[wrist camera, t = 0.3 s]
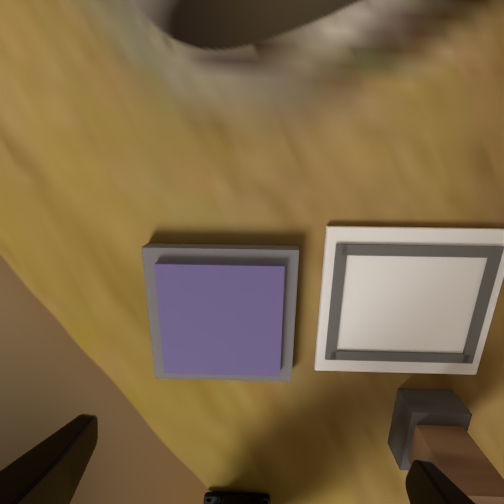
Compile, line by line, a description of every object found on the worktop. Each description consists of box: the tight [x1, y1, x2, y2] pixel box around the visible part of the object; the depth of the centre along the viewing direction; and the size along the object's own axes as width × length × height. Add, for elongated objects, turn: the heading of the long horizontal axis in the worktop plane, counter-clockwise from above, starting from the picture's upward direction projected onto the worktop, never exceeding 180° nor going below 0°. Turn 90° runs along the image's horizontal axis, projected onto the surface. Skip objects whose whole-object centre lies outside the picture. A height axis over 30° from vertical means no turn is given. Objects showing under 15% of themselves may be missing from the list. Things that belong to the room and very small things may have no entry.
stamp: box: [388, 389, 504, 504], centre depth 22 cm, size 6×4×8 cm
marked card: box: [314, 226, 504, 375], centre depth 22 cm, size 12×13×1 cm
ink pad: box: [142, 243, 299, 382], centre depth 22 cm, size 11×11×2 cm
